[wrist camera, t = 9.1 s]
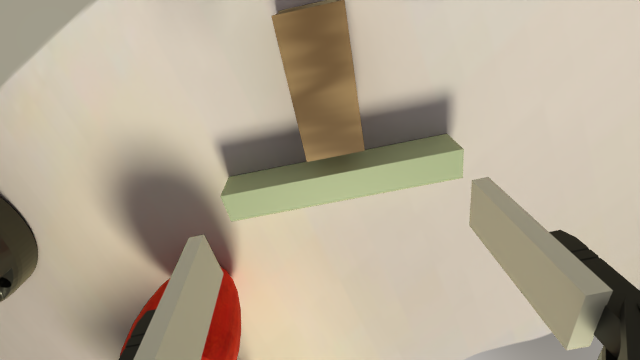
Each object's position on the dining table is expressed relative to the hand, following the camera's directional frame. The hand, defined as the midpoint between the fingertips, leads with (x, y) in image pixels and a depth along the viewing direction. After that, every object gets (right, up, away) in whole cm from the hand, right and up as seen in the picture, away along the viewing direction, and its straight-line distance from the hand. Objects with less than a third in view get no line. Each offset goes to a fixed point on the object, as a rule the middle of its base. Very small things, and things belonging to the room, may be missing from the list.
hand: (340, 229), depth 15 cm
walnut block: (0, +5, +8) cm, 9 cm away
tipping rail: (+1, +3, +11) cm, 11 cm away
